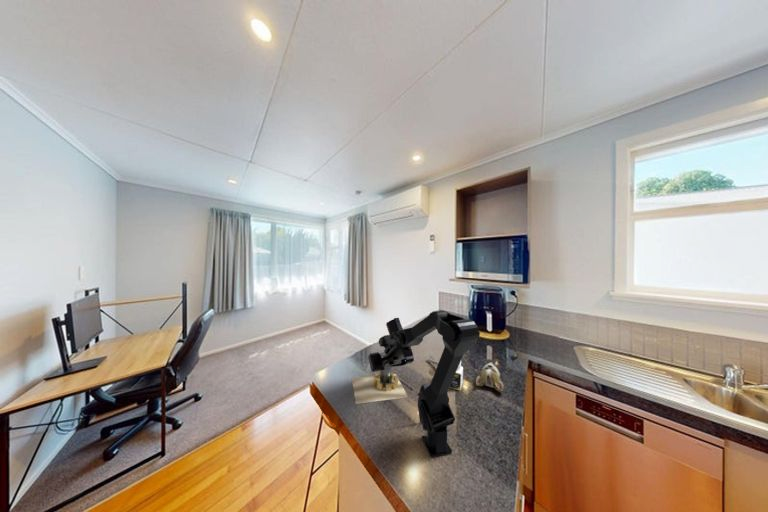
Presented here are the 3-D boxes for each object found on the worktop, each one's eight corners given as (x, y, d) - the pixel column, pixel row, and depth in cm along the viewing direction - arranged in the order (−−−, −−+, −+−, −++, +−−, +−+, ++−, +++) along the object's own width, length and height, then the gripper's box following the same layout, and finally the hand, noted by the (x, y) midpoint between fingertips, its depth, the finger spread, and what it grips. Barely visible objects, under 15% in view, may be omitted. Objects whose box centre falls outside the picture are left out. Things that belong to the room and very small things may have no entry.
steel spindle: (391, 387, 85) (390, 357, 86) (379, 387, 86) (378, 357, 86) (391, 380, 90) (391, 352, 91) (380, 380, 91) (379, 352, 91)
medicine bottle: (442, 385, 90) (443, 357, 90) (446, 378, 96) (447, 351, 96) (460, 391, 86) (461, 361, 87) (462, 382, 93) (463, 355, 93)
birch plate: (408, 400, 80) (408, 397, 80) (355, 407, 75) (355, 403, 75) (395, 376, 96) (395, 374, 96) (351, 381, 92) (351, 378, 92)
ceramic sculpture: (504, 361, 96) (503, 378, 83) (504, 380, 96) (503, 400, 83) (478, 355, 101) (474, 370, 88) (478, 373, 101) (474, 391, 88)
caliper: (453, 379, 94) (454, 364, 95) (451, 379, 94) (452, 364, 95) (428, 360, 114) (429, 348, 114) (426, 360, 113) (427, 348, 114)
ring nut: (400, 389, 84) (400, 383, 84) (376, 392, 82) (376, 386, 82) (393, 376, 94) (393, 370, 94) (371, 378, 92) (371, 372, 92)
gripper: (410, 328, 90) (396, 345, 99) (370, 333, 81) (359, 351, 90) (421, 354, 82) (405, 369, 92) (379, 363, 74) (366, 379, 83)
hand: (384, 366), depth 89 cm, fingers open, 6 cm apart
